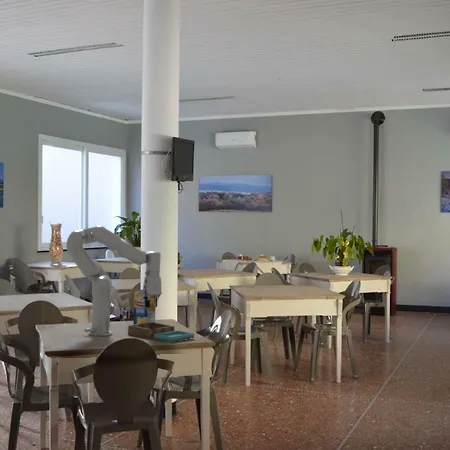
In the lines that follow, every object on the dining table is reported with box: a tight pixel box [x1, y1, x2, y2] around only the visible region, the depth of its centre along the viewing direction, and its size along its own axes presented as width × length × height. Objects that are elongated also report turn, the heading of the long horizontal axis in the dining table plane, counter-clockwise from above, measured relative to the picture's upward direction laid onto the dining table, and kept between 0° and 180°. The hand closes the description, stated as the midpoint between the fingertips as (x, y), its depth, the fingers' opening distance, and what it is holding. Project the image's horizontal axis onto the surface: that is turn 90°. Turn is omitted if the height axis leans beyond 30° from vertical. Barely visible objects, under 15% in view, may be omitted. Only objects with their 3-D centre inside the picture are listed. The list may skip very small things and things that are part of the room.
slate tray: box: [153, 330, 195, 343], centre depth 340 cm, size 18×12×3 cm, turn 139°
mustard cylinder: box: [146, 296, 157, 312], centre depth 351 cm, size 5×5×8 cm
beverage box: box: [132, 289, 156, 325], centre depth 373 cm, size 7×11×22 cm, turn 53°
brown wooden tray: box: [127, 322, 175, 340], centre depth 351 cm, size 18×18×5 cm
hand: (150, 306), depth 351 cm, fingers closed on mustard cylinder, 5 cm apart
